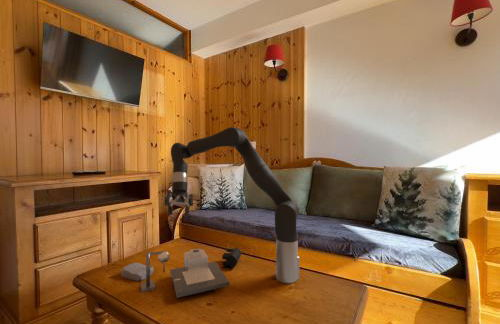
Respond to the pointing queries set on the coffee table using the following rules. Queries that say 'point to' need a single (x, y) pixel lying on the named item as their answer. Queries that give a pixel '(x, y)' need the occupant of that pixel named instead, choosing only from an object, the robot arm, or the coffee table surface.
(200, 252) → the cover
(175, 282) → the grey flat square slab
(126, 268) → the stone block
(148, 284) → the dial indicator stand
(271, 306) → the coffee table surface
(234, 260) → the end cap
